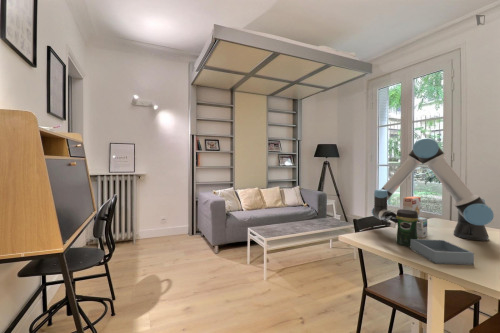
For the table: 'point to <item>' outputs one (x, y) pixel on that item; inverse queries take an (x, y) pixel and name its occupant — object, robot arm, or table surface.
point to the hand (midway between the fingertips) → (408, 225)
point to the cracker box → (412, 204)
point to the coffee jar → (406, 226)
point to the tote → (442, 252)
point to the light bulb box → (423, 231)
